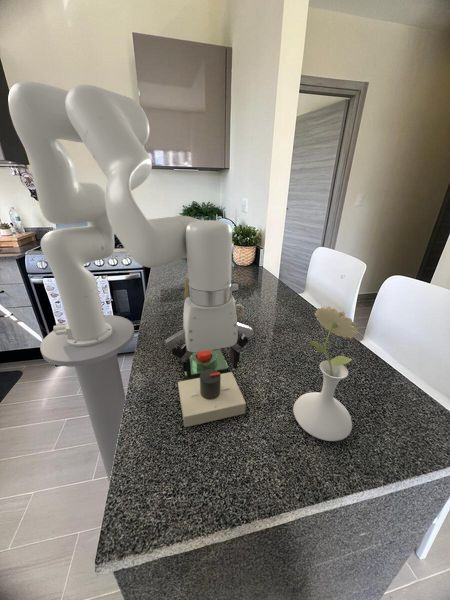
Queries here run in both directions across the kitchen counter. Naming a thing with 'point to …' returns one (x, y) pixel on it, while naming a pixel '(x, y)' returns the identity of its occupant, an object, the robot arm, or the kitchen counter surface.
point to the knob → (210, 384)
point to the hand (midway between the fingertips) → (211, 368)
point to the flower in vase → (327, 385)
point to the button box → (207, 364)
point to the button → (204, 355)
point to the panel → (210, 401)
